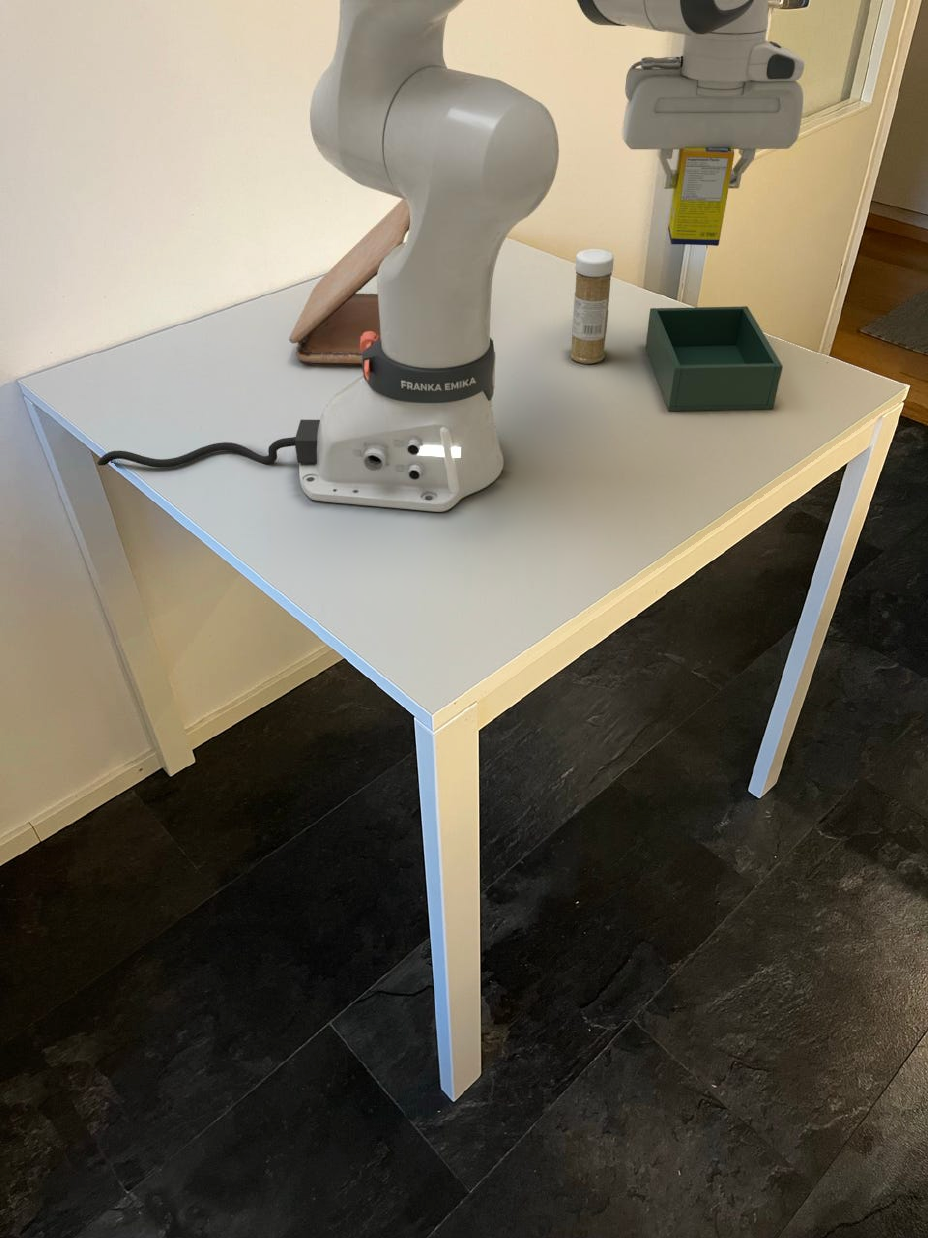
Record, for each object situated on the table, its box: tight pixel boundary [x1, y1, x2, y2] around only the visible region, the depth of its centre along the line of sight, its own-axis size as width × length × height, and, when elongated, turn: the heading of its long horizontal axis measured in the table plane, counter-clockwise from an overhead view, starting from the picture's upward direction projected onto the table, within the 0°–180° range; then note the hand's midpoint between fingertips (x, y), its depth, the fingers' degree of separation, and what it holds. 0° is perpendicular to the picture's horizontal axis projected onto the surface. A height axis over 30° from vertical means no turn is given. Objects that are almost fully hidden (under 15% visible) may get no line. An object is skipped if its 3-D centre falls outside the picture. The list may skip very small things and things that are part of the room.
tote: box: [644, 305, 784, 412], centre depth 119 cm, size 13×17×6 cm
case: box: [288, 198, 410, 364], centre depth 126 cm, size 20×21×16 cm
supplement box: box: [667, 148, 735, 247], centre depth 116 cm, size 6×6×11 cm
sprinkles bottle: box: [569, 248, 614, 365], centre depth 121 cm, size 5×5×13 cm
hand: (700, 187), depth 116 cm, fingers closed on supplement box, 6 cm apart
